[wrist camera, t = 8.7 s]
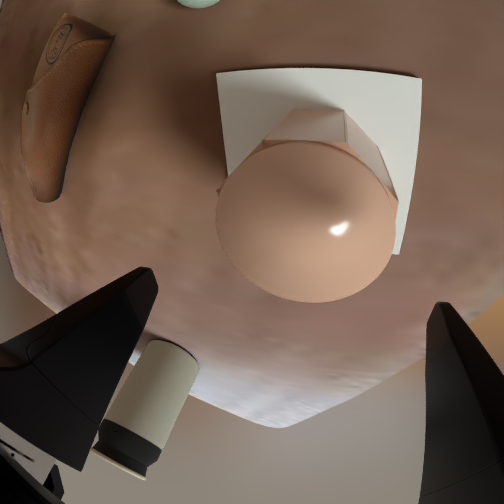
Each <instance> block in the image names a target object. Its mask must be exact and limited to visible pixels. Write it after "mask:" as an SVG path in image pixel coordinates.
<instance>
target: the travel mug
mask: <svg viewBox="0 0 504 504" xmlns="http://www.w3.org/2000/svg"><path fill="white" fill-rule="evenodd" d="M198 372H199V365H198V363H197V362H196V361H195V359H194V358H193V357H192V356H191V355H190V354H189V353H187V352H186V351H185V350H183V349H182V348H180V347H178V346H176V345H174V344H172V343H169V342H165V341H161V340H152V341H150V342H149V343H148V345H147V346H146V348H145V349H144V351H143V353H142V354H141V356H140V358H139V359H138V361H137V363H136V364H135V366H134V368H133V369H132V371H131V373H130V374H129V376H128V378H127V379H126V381H125V383H124V385H123V386H122V388H121V390H120V391H119V393H118V395H117V397H116V398H115V400H114V402H113V403H112V405H111V407H110V409H109V410H108V412H107V414H106V416H105V418H104V419H103V421H102V423H101V425H100V426H99V429H98V435H99V441H98V442H97V443H96V444H95V446H93V447H92V448H91V449H90V451H91V452H92V453H94V454H96V455H97V456H99V457H101V458H102V459H104V460H106V461H108V462H109V463H111V464H113V465H115V466H117V467H118V468H120V469H122V470H124V471H126V472H128V473H130V474H132V475H134V476H136V477H138V478H140V479H142V480H146V477H145V475H146V471H147V467H148V466H150V465H151V464H153V463H154V462H156V461H157V460H158V458H159V456H160V453H161V451H162V449H163V447H164V445H165V443H166V441H167V439H168V436H169V434H170V432H171V430H172V428H173V425H174V423H175V421H176V419H177V417H178V415H179V413H180V411H181V409H182V406H183V404H184V402H185V400H186V398H187V396H188V394H189V391H190V389H191V387H192V385H193V383H194V381H195V379H196V376H197V374H198Z"/></svg>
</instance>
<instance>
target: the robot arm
mask: <svg viewBox="0 0 504 504" xmlns="http://www.w3.org/2000/svg"><path fill="white" fill-rule="evenodd" d="M157 293H158V284H157V281H156V279H155V276H154V273H153V271H152V269H151V268H148V267H138V268H136V269H135V270H133V271H131V272H129V273H127V274H125V275H124V276H122V277H120V278H118V279H116V280H115V281H113V282H111V283H109V284H107V285H106V286H104V287H102V288H100V289H99V290H97V291H95V292H93V293H92V294H90V295H88V296H86V297H85V298H83V299H81V300H79V301H78V302H76V303H74V304H72V305H71V306H69V307H67V308H66V309H64V310H62V311H61V312H59V313H58V314H55V315H54V316H52V317H51V318H49V319H47V320H46V321H43V322H42V323H40V324H38V325H36V326H35V327H33V328H31V329H29V330H27V331H25V332H23V333H21V334H19V335H17V336H15V337H14V338H12V339H10V340H8V341H6V342H4V343H2V344H0V504H65V503H64V502H62V501H61V498H62V496H63V494H64V489H63V485H62V481H61V477H60V473H59V469H58V466H57V465H55V461H56V460H59V461H61V462H63V463H65V464H66V465H69V466H70V467H72V468H74V469H76V470H78V471H80V472H81V471H82V469H83V467H84V464H85V461H86V459H87V456H88V454H89V451H90V449H91V446H92V444H93V441H94V438H95V436H96V434H97V431H98V429H99V426H100V424H101V421H102V419H103V417H104V414H105V412H106V410H107V407H108V405H109V403H110V400H111V398H112V396H113V394H114V391H115V389H116V387H117V385H118V383H119V380H120V378H121V376H122V374H123V372H124V369H125V367H126V365H127V363H128V361H129V359H130V357H131V355H132V353H133V350H134V348H135V346H136V344H137V342H138V340H139V338H140V336H141V334H142V332H143V330H144V327H145V325H146V322H147V319H148V317H149V314H150V312H151V309H152V306H153V304H154V301H155V299H156V296H157ZM425 366H426V367H425V383H426V433H425V453H424V464H423V474H422V483H421V491H420V498H419V503H418V504H504V375H503V374H502V372H501V371H500V369H499V368H498V366H497V365H496V363H495V362H494V361H493V359H492V358H491V356H490V355H489V353H488V352H487V351H486V349H485V348H484V346H483V345H482V344H481V342H480V341H479V340H478V338H477V337H476V336H475V334H474V333H473V332H472V330H471V329H470V328H469V326H468V325H467V324H466V323H465V321H464V320H463V319H462V317H461V316H460V315H459V314H458V312H457V311H456V310H455V309H454V308H453V306H452V305H451V304H450V303H448V302H437V303H436V304H435V306H434V308H433V310H432V313H431V315H430V317H429V319H428V322H427V328H426V365H425Z"/></svg>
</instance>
